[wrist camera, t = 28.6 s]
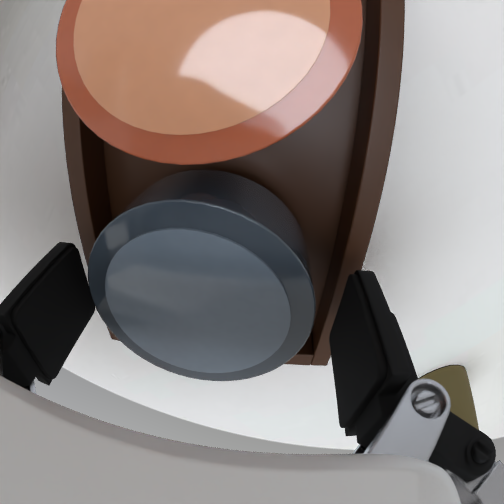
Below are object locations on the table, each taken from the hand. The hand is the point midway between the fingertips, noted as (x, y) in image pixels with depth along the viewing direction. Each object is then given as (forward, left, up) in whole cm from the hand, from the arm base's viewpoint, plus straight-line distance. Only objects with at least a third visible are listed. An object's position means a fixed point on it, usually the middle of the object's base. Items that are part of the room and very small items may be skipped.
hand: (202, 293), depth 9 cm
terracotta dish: (0, +8, -3) cm, 8 cm away
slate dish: (0, 0, -3) cm, 3 cm away
